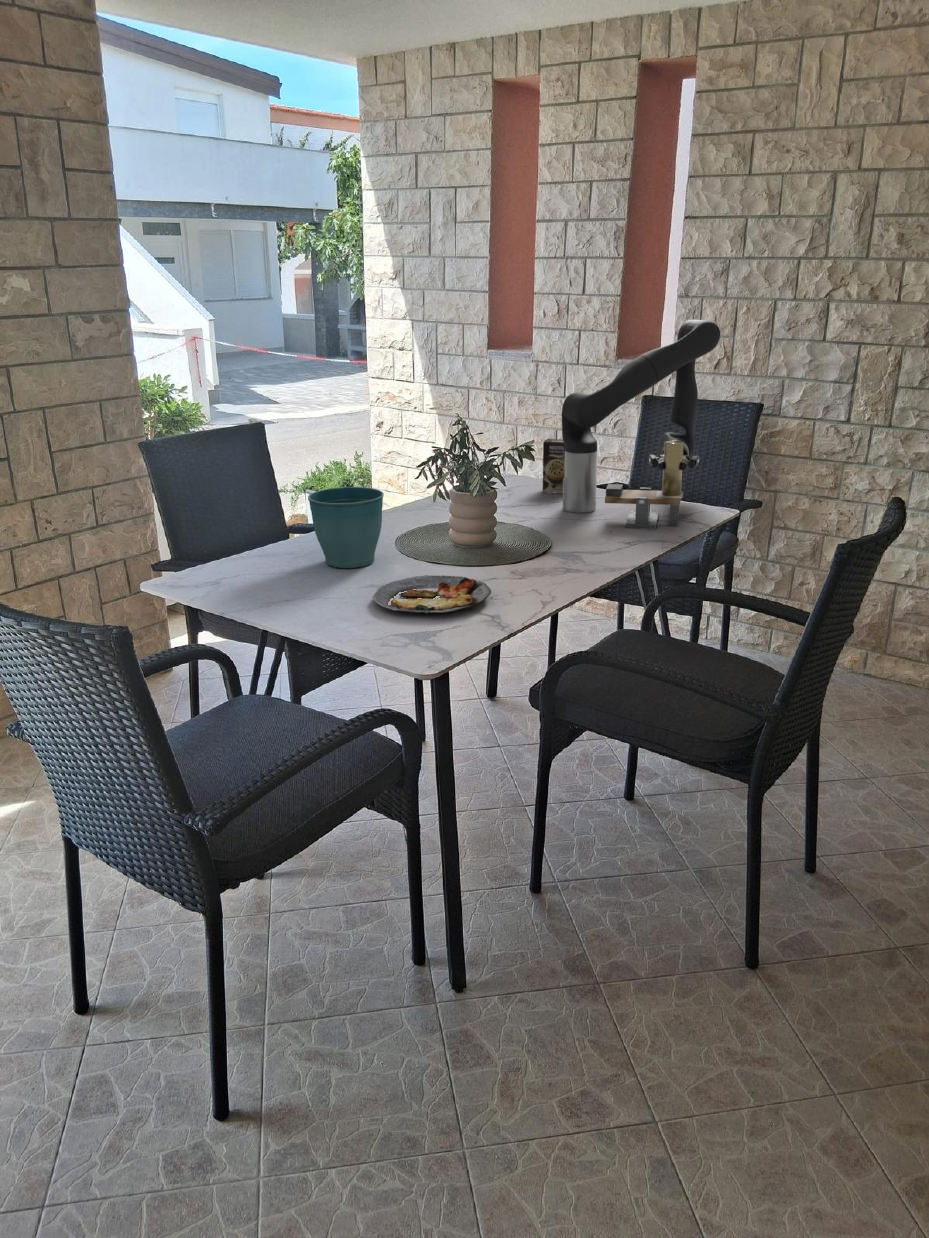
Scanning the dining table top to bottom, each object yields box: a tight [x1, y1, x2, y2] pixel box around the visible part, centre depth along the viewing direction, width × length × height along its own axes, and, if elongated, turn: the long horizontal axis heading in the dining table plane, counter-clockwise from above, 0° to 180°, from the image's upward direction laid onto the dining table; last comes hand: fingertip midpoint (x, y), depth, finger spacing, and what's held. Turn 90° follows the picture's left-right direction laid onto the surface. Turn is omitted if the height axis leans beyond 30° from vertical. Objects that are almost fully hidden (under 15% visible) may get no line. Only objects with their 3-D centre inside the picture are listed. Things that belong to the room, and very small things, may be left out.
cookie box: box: [542, 438, 565, 494], centre depth 293 cm, size 9×6×16 cm
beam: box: [604, 483, 684, 506], centre depth 256 cm, size 20×10×4 cm, turn 75°
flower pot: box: [307, 486, 384, 569], centre depth 227 cm, size 18×18×17 cm
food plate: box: [372, 574, 492, 615], centre depth 202 cm, size 25×23×4 cm
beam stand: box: [625, 487, 681, 530], centre depth 257 cm, size 14×14×8 cm
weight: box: [661, 441, 684, 496], centre depth 252 cm, size 5×5×14 cm
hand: (672, 466), depth 249 cm, fingers closed on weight, 5 cm apart
